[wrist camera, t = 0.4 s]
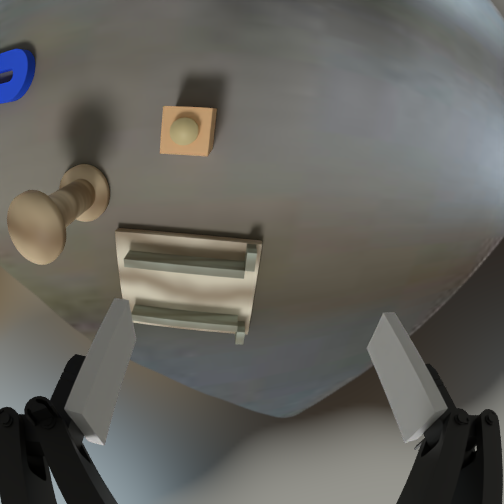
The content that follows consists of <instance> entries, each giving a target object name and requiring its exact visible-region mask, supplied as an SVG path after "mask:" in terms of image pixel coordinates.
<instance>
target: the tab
mask: <svg viewBox="0 0 504 504" xmlns="http://www.w3.org/2000/svg"><path fill="white" fill-rule="evenodd" d="M216 114H217V109H214V108H201V107H178V106H163V117H162V129H161V144H160V154H180V155H196V156H208V155H209V154H210V152H211V151H212V149H213V141H214V131H215V122H216Z"/></svg>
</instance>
